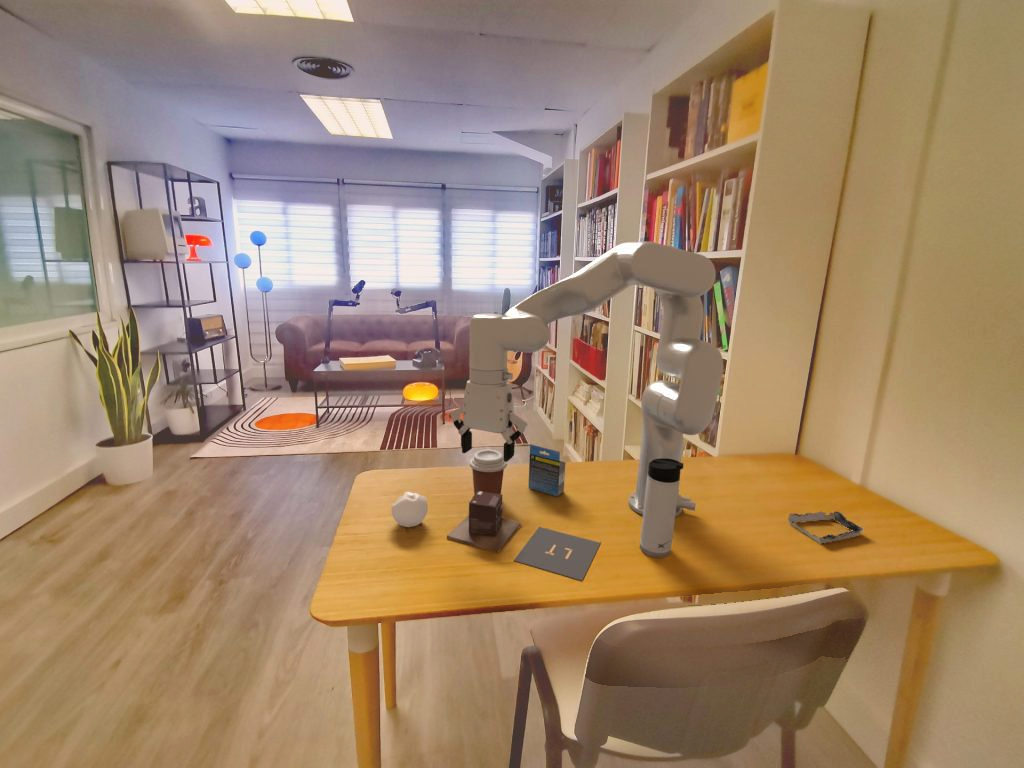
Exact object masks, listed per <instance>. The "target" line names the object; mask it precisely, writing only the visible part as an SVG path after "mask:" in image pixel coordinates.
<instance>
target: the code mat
mask: <svg viewBox="0 0 1024 768" xmlns="http://www.w3.org/2000/svg"><path fill="white" fill-rule="evenodd" d="M600 545H601V542H599V541H596V540H591V539H589V538H588V539H587V538H584V537H580V536H576V535H572V534H568V533H565V532H561V531H556V530H553V529H550V528H545V527H541V526H538V528H537V529H536V530H535V531H534V532H533V534H532V535H531V537H529V539H528V540H527V542H526V543H525V545H524V546H523V547H522V549H521V550H520V551H519V552H518V554H517V555H516V557H515V558H514V559H513V561H514V562H517V563H520V564H524V565H527V566H530V567H534V568H536V569H541V570H544V571H547V572H551V573H554V574H556V575H561V576H564V577H568V578H571V579H574V580H577V581H580V582H582V581H583V580H584V578H585V576H586V575H587V574H586V573H587V572H588V570H589V568H590V565H591V564H592V562H593V560H594V558H595V556H596V553H597V551H598V549H599V547H600Z"/></svg>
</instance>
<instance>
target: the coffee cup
mask: <svg viewBox="0 0 1024 768" xmlns="http://www.w3.org/2000/svg"><path fill="white" fill-rule="evenodd" d="M503 456H504V454H503V453H501V451H499V450H494V449H482V450H478V451H476V452H475V453H474V454H473V457H471V458H470V459H469V467H470V468H471V470H472V482H473V494H474V495H475V494H476V492H477V491H479V492H488V493H495V494H502V488H503V480H504V470H505V469H506V467H507V465H508V461H507V462H504V460H503ZM474 495H473V496H474Z"/></svg>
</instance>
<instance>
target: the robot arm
mask: <svg viewBox="0 0 1024 768" xmlns="http://www.w3.org/2000/svg"><path fill="white" fill-rule="evenodd" d="M716 273H717V272H716V268H715V265H714V263H713V262H712V261H711V259H709V258H708V257H706V256H705V255H703V254H700V253H695V252H694V251H693V252H692V251H688V250H684V249H680V248H678V247H672V246H670V245H666V244H663V243H662V244H661V243H659V242H654V241H627V242H622V243H620V244H617V245H616V246H614V247H612V248H611V249H609V250H608V251H606V252H605V253H603V254H601V255H600V256H598V257H597V258H596V259H594V260H592V261H591V262H589V263H588V264H586V265H585V266H583V267H582V268H580V269H579V270H578V271H576V272H575V273H574V272H573V274H571V275H569V276H567V277H565V278H563V279H561V280H559V281H557V282H555V283H553V284H551V285H550V286H548V287H544V288H543V289H541V290H539V291H537V292H535V293H534V294H531V295H530V296H528V297H527V298H525V299H523V300H522V301H520V302H519V303H518V304H515V306H513V307H511V308H510V309H509V310H508V311H506V312H505V313H504V314H498V313H477V314H474V315H472V316H471V318H470V320H469V379H468V380H467V381H466V385H465V389H464V395H463V403H462V407H458V408H456V409H454V410H451V411H450V413H449V415H450V418H451V420H452V421H453V425H454V427H455V428H456V429H457V430H458V434H459V435H460V447H461V453H462V454H466V453H468V452H469V451H471V450H472V448H473V432H472V431H471V429H472V430H476V431H477V430H478V431H482V432H487V433H493V434H501V436H502V437H503V440H504V441H505V442H504V443H503V460H504V462H507V463H508V462H509V461H510V460H511V459H512V458H513V457H514V456H515V448H516V447H515V443H516V440H517V439H519V438H520V437H521V436H522V435H523V434H524V432H525V430H526V429H527V427H528V422H526V421H525V420H524V419H522V418H521V417H520V416H518V415H516V414H515V407H514V406H515V404H514V396H513V395H514V394H513V388H512V384H511V382H510V381H512V380H513V378H514V374H513V373H511V372H509V368H508V352H518V353H535V352H538V351H540V350H542V349H544V348H545V347H546V345H547V344H548V343H549V340H550V337H551V330H550V328H549V324H551V323H553V322H556V321H558V320H561V319H564V318H567V317H572V316H573V317H574V316H580V315H585V314H588V313H591V312H593V311H595V310H596V309H598V308H600V307H601V306H603V305H604V304H605V303H607V302H608V301H610V300H611V299H613V298H614V297H616V296H617V295H618V294H620V293H621V292H624V291H625V290H626V289H628V288H629V287H631V286H642V287H647V288H651V289H652V290H653V291H654V292H655V293H656V294H657V296H658V297H659V299H660V302H661V305H662V308H663V309H662V310H663V316H662V324H661V329H660V336H659V339H658V343H657V349H656V356H655V365H656V367H657V369H658V371H660V372H661V373H663V374H665V375H667V376H669V377H671V378H672V379H673V378H674V379H676V380H679V381H680V382H679V384H678V383H677V382H675V381H669V380H665V379H661V380H655V381H653V382H651V383H650V384H649V385H647V387H646V388H645V389H644V391H643V393H642V395H641V400H640V401H641V402H640V403H641V405H640V408H641V418H642V421H641V422H642V428H641V430H642V431H641V441H640V453H639V461H638V471H637V481H636V488H635V492H633V493H631V494H630V495H629V498H628V506H629V507H630V508H631V509H632V510H633V511H634V512H636V513H638V514H640V515H641V516H643V511H644V502H645V492H646V483H647V477H648V476H647V474H648V468H649V463H650V462H652V460H654V459H660V458H667V459H673V460H677V461H679V462H680V463H682V455H683V450H684V449H683V448H684V435H687V436H695V435H699V434H701V433H702V432H704V431H705V430H706V429H707V428H708V426H709V425H710V422H711V421H712V420H713V419H712V418H713V416H714V412H715V408H716V404H717V399H718V395H719V391H720V387H721V382H722V378H723V373H724V359H723V356H722V354H721V352H720V350H719V348H718V347H717V346H716V345H714V344H713V343H710V342H708V341H704V340H702V339H701V334H702V328H703V321H704V305H703V302H702V299H701V296H703V295H706V293H708V292H709V291H710V290H711V289H712V287H713V286H714V283H715V281H716V276H717V274H716ZM509 380H510V381H509ZM508 381H509V382H508ZM460 415H462V419H461V417H460ZM514 425H515V426H516V427H517V429H516V430H515V431H514V430H513V427H514ZM696 506H697V502H694V501H692V498H690V497H687V496H686V497H685V496H682V495H681V494H680V489H679V490H678V498H677V506H676V514H675V518H676V517H679V515H681V514H682V509H686V510H688V511H689V510H690V511H694V512H695V511H696Z"/></svg>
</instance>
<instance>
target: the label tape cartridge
mask: <svg viewBox="0 0 1024 768" xmlns="http://www.w3.org/2000/svg"><path fill="white" fill-rule="evenodd" d="M541 452H545V453H546V454H545V453H544V454H543V453H541ZM560 453H561V452H560V451H557V450H554V449H550V448H546V447H541V446H538V445H535V444H531V443H530V444H529V464H528V465H529V466H528V467H529V468H528V470H529V471H528V489H530V488H531V490H534V491H537V492H540V493H541V492H542V493H544V494H547V495H551V496H554V497H559V496H561V495H562V494H563V493H564V492H565V491H564V489H565V477H566V476H565V475H566V461H561V459H560V457H561V454H560Z"/></svg>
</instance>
